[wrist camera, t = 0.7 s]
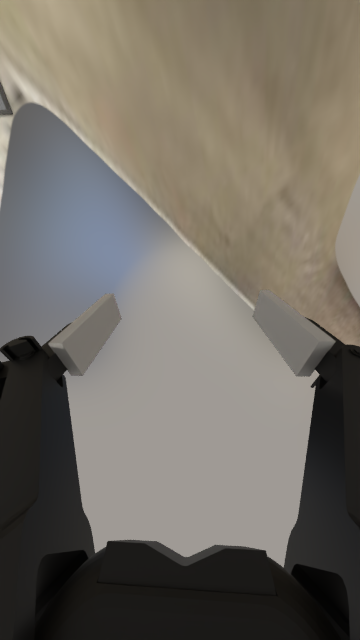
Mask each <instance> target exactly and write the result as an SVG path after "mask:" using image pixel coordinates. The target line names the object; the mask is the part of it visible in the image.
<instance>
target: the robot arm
mask: <svg viewBox="0 0 360 640" xmlns="http://www.w3.org/2000/svg"><path fill="white" fill-rule="evenodd" d="M253 318H254V319H255V321H256V322H257V323H258V325H259V326H260V327H261V329H262V330H263V332H264V333H265V334H266V336H267V337H268V338H269V340H270V341H271V342H272V343H273V345H274V346H275V348H276V349H277V351H278V352H279V353H280V354H281V356H282V357H283V358H284V360H285V361H286V363H287V364H288V366H289V367H290V368H291V370H292V371H293V372H294V374H295V375H296V376H310V375H311V374H312V373H313V371H314V370H316V371H317V372H318V373H319V374H320V375H319V377H318V378H317V379H316V380H315V382H314V383H313V384H312V386H311V387H312V388H313V387H314V386H316V388H315V396H314V403H313V411H312V418H311V425H310V434H309V440H308V448H307V455H306V463H305V470H304V477H303V485H302V492H301V500H300V507H299V514H298V519H297V522H296V524H295V526H294V528H293V529H292V531H291V534H290V537H289V541H288V545H287V551H286V558H285V565H284V568H283V567H282V566H281V565H279V564H278V563H276V562H275V561H274V560H272V559H271V558H269V557H267V554H266V551H265V550H259V549H254V548H249V547H241V546H223V545H214V546H212V547H210V548H208V549H205V550H203V551H201V552H199V553H197V554H195V555H192V556H190V557H183V556H181V555H180V554H178V553H176V552H174V551H173V550H171V549H169V548H168V547H166V546H164V545H163V544H161V543H159V542H157V541H140V540H120V541H108V542H107V546H106V547H105V548H103V549H102V550H100V551H99V552H97V553H95V550H94V543H93V537H92V532H91V527H90V524H89V521H88V519H87V517H86V515H85V513H84V511H83V508H82V502H81V494H80V486H79V478H78V471H77V464H76V455H75V448H74V440H73V432H72V425H71V417H70V409H69V401H68V393H67V386H66V378H65V376H64V375H63V374H64V372H65V371H66V370H68V372H69V373H70V374H71V375H74V376H78V375H79V376H82V375H84V373H85V372H86V370H87V369H88V367H89V366H90V364H91V363H92V361H93V360H94V359H95V357H96V356H97V354H98V353H99V351H100V350H101V348H102V347H103V345H104V344H105V342H106V341H107V339H108V338H109V337H110V335H111V334H112V332H113V331H114V329H115V328H116V326H117V325H118V323H119V322H120V320H121V315H120V312H119V309H118V306H117V303H116V300H115V296H114V294H105V295H104V296H103V297H101V298H100V299H99V300H98V301H97V302H95V303H94V304H93V305H92V306H91V307H90V308H88V309H87V310H86V311H85V312H84V313H83V314H82V315H81V316H79V317H78V318H77V319H76V320H75V321H74V322H72V323H70V324H68V325H67V326H65V327H64V328H63V329H62V331H59V332H58V333H57V335H55V336H54V337H52V338H51V339H50V340H49V341H48V342H47V343H45V344H44V345H43V346H42V347H41V346H40V345H39V343H38V342H37V341H36V339H35V338H34V337H33V336H24V337H20V338H18V339H14V340H12V341H10V342H8V343H7V344H5V345H4V346H2V347H1V349H0V351H1V352H2V353H3V354H4V355H5V356H6V357H7V358H8V359H9V360H10V361H6V362H1V361H0V640H360V347H359V346H355V345H345V344H344V343H342V342H341V341H340V340H338V339H337V338H336V337H334V336H333V335H332V334H330V333H329V332H328V331H326V330H325V329H324V328H322V327H320V325H318V324H317V323H316V322H314V321H313V320H310V319H308V318H306V317H304V316H303V315H301V314H300V313H299V312H297V311H296V310H295V309H293V308H292V307H291V306H290V305H288V304H287V303H286V302H284V301H283V300H282V299H280V298H279V297H278V296H277V295H275V294H274V293H273V292H271V291H270V290H260V293H259V296H258V300H257V303H256V307H255V310H254V314H253Z"/></svg>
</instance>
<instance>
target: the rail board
mask: <svg viewBox="0 0 360 640" xmlns="http://www.w3.org/2000/svg"><path fill="white" fill-rule="evenodd" d="M0 114H13V113H12V111H11V108H10V106H9V103H8V101H7V98H6V96H5V93H4V91H3V88H2V86H1V83H0Z"/></svg>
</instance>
